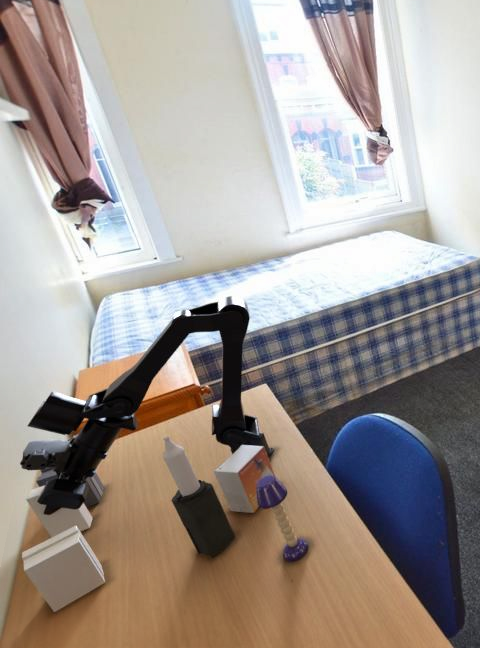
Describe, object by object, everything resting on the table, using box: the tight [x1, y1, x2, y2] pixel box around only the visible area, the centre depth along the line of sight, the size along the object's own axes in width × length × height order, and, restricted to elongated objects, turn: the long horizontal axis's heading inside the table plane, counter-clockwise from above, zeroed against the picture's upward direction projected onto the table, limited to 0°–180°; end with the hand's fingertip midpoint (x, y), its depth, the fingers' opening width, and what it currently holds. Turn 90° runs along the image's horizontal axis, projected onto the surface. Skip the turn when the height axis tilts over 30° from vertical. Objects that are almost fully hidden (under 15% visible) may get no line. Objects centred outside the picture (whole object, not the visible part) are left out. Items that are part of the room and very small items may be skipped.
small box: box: [213, 445, 276, 514], centre depth 95 cm, size 8×6×10 cm
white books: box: [21, 526, 106, 613], centre depth 79 cm, size 7×5×10 cm
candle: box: [162, 435, 236, 558], centre depth 82 cm, size 5×5×25 cm
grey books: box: [35, 467, 105, 508], centre depth 99 cm, size 7×5×10 cm
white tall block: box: [26, 478, 94, 538], centre depth 91 cm, size 6×3×11 cm, turn 121°
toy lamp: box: [256, 475, 309, 562], centre depth 81 cm, size 5×5×17 cm
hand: (49, 508), depth 90 cm, fingers closed on white tall block, 3 cm apart
